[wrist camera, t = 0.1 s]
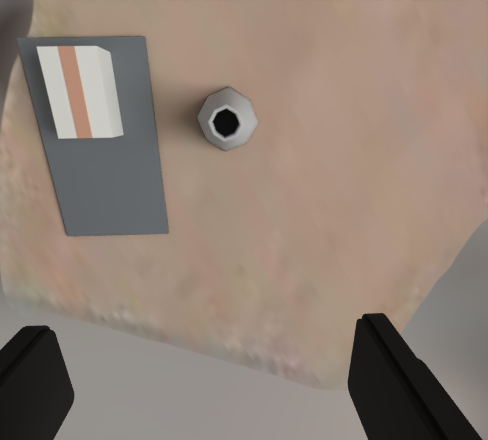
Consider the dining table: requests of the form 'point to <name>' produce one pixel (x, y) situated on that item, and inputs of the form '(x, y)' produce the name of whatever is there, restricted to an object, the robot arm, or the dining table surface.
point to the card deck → (81, 91)
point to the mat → (105, 147)
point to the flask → (227, 119)
